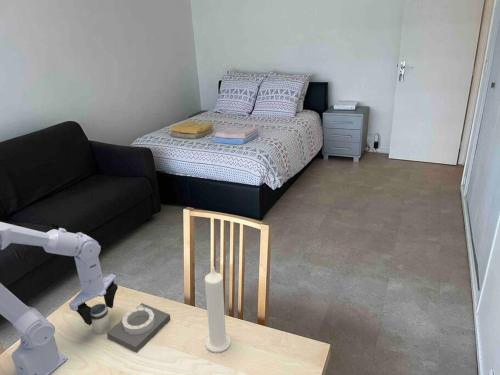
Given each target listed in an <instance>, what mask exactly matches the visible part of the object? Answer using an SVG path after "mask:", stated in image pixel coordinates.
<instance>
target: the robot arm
mask: <svg viewBox="0 0 500 375" xmlns="http://www.w3.org/2000/svg"><path fill="white" fill-rule="evenodd" d="M10 244H20V245H27V246H38V247H42V248H43V250H44V251H45V252H46V253H50V254H54V255H55V254H56V255H60V256H68V257H74V261H75V266H76V270H77V274H78V278H79V282H80V287H81V290H80V291H79V293H78V294H77V295H76V296H75V297H74V298H73V299H72V300H71V301H70V302H69V303H68V305H69V309H70V310H71V311H74V312H76V313H77V314H78V315H79V316H80V317H81V319H82V320H83V321H84V323H85V324H86V325H88V326H92V319H91V307H92V306H89V305H88V304H87V303H86V302H89V301H91V300H93V299H96V298H98V297H100V298H101V297H103V298H104V303H105V305H106V306H107V308H109V309H112V308H113V307H114V303H115V302H114V301H115V296H116V293H117V290H118V289H119V286H118V284H116V283H117V281H118V280H117V275H116V274H113V273H111V274H108V275H107V276H105V277H103V272H102V268H101V263H100V259H99V255H100V253H101V248H102V247H101V245H100V244H99V242H98V241H97V240H96V239H94V238H92V237H91V236H89V235H87V234H85V233H83V232H82V231H80V232H76V233H74V232H69V231H67V229H65V228H63V227H59V228H58V229H56V228H55V229H54V228H53V229H50V230H49V231H47V232H44V231H39V230H35V229H31V228H29V227H28V228H27V227H23V226H18V225H16V224H10V223H6V222H2V221H0V250H1V251H3V250H5V249H6V248H7V247H8V246H9V245H10ZM113 309H114V308H113ZM0 315H1V316H2V317H3V318H5V319H6V320H7V321H9V322H10V323H11V324H12V325H13V329H14V330H15V331H17V332H18V333H19V335H20V341H19V342H20V343H19V345H18V346H17V348H16V349H15V350H14V351H12V353H11V358H12V362H13V364H14V367H15V370H16V371H15V374H16V375H51V373H53V372H54V371H55V370H56V369H57V368H59V367H60V366H61V365H62V364H64V363H65V362H66V361H67V360H68V359H69V358H68V356H67V355H66V354H64V353H61V352H60V351H59V349H58V345H57V342H56V338H55V333H56V328H55V325H54V324H53V323H52V322H50V321H49V320H48V319H47V318H46V317H44V316H43V314H42V313H41V312H40V310H38V309H37V308H36V307H31V306H28V305H27V304H25V303H23V301H21V300H20V299H19V298H18V297H17V296H16V295H14V293H13V292H11V291H10V290H9V289H8V288H7V287H5V286H4V285H3V283H1V282H0Z"/></svg>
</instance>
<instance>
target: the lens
mask: <svg viewBox="0 0 500 375" xmlns="http://www.w3.org/2000/svg"><path fill="white" fill-rule="evenodd" d="M90 307H91V319H92V324H91V326H92V332H93V333H94V334H95V335H104V334H107V332H108V331H109V330H111V329H112V327H111V326H112V325H111V320H110V317H109V316H110V315H109V309H108V308H109V307H107V306H106V304H104V303H97V304H95V305H93V306H90Z"/></svg>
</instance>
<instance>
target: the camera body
mask: <svg viewBox="0 0 500 375" xmlns="http://www.w3.org/2000/svg"><path fill="white" fill-rule="evenodd" d="M170 321H171V314H170V313H168V312H165V311H163V310H160V309H158V308H155V307H153V306H150V305H148V304H145V303H143V302H142V303H140V304H139V305H138V306H136V307H135V308H134V309H131V310H129V311H128V312H127V313H125V314H124V315H123V318H122V319H121V320H120V321H119V322H118V323H116V324H115V325H114V326H113V327H111V328H110V330H109V331H108V332H106V336H107V339H108V340H110V341H113V342H114V343H117V344H119V345H120V346H123V347H125V348H126V349H128V350H130V351H133V352H135V353H138V352H139V351H140V350H142V348H143V347H145V345H147V343H148V342H150V341H151V339H153V338H154V336H156V334H158V333H159V332H160V331H161V330H162V329H163V328H164V327H165V326H166V324H168V323H169V322H170Z"/></svg>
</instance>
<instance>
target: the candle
mask: <svg viewBox="0 0 500 375" xmlns="http://www.w3.org/2000/svg"><path fill="white" fill-rule="evenodd" d="M210 269H211V270H210V273H208V274H206V275H205V277H204V286H205V300H206V313H207V324H208V325H207V326H208V335H207V337H206V338H205V340H204V345H205V346H204V347H205V348H206V349H207V350H208V352H211V353H216V354H217V353H220V354H221V353H223V352H225V351H227V350H228V349H229V348H230V346H231V345H232V344H231V343H232V342H231V337H230V335H229V334H228V333H226V315H225V298H224V297H225V296H224V281H223V275H222V274H221V273H219V272H216V269H215V267H214V266H212V267H211V268H210Z"/></svg>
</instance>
